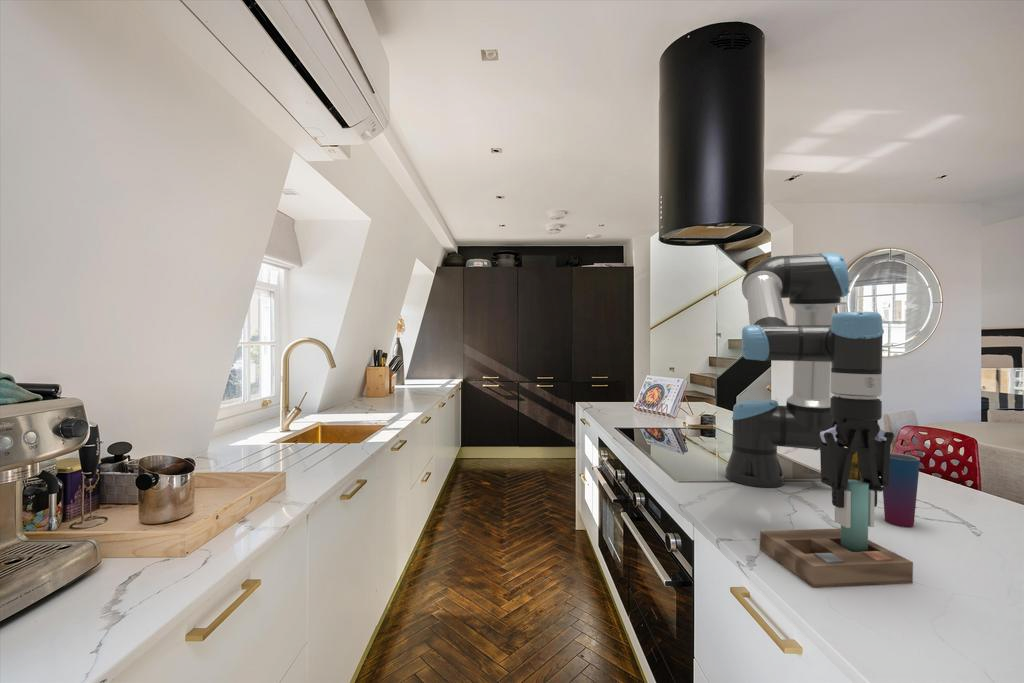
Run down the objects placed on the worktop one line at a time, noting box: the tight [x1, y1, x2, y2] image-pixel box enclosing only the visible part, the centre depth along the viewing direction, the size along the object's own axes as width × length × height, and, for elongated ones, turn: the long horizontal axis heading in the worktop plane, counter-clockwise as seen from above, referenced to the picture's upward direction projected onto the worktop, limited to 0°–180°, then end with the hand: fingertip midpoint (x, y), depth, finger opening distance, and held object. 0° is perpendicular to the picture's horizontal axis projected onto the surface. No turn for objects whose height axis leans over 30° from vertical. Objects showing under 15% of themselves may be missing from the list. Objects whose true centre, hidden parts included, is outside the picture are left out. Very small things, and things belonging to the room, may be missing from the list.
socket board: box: [759, 528, 914, 588], centre depth 84 cm, size 14×18×4 cm
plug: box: [840, 478, 869, 552], centre depth 84 cm, size 4×4×12 cm
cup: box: [882, 452, 921, 528], centre depth 104 cm, size 7×7×15 cm
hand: (854, 524), depth 84 cm, fingers closed on plug, 4 cm apart
